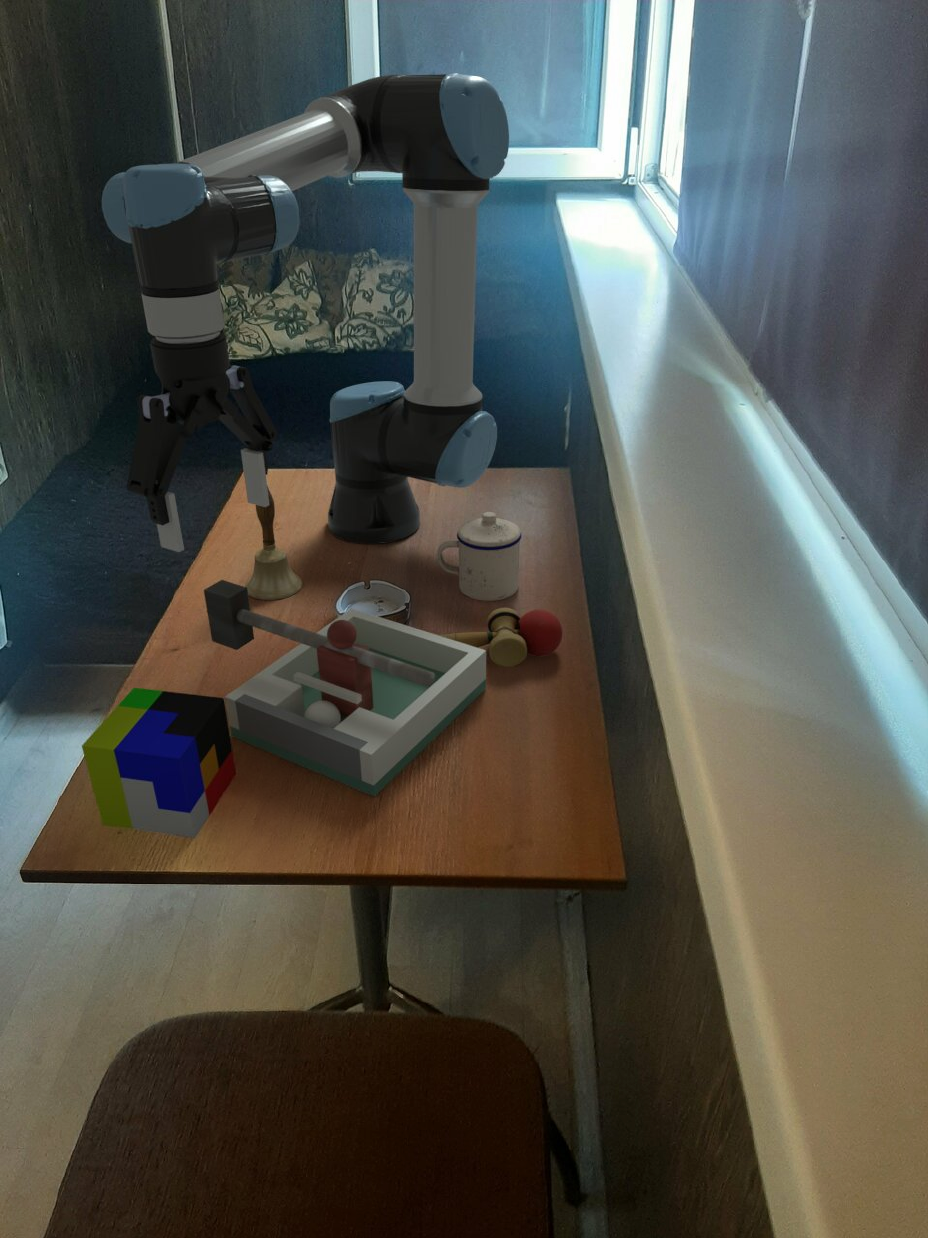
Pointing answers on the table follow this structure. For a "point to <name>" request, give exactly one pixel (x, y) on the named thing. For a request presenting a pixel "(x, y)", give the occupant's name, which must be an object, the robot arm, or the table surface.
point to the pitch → (365, 739)
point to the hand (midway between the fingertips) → (217, 525)
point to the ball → (324, 713)
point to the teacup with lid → (486, 558)
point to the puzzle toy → (161, 761)
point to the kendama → (515, 635)
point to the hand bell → (271, 563)
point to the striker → (334, 652)
